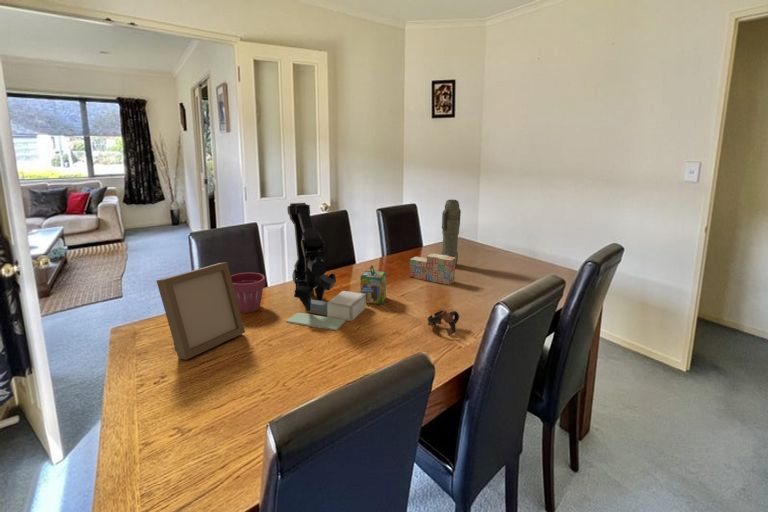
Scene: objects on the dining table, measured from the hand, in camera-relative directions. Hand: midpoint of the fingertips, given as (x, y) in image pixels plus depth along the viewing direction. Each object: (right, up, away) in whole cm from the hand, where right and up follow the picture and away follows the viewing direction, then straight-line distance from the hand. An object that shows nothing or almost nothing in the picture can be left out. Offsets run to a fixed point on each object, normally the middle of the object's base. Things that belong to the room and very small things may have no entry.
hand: (314, 306), depth 163 cm
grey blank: (+5, -2, -1) cm, 5 cm away
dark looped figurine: (+49, -7, -14) cm, 51 cm away
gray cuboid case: (+13, -2, -1) cm, 13 cm away
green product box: (+23, +1, +12) cm, 26 cm away
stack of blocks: (+50, +8, +39) cm, 64 cm away
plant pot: (-26, -1, +2) cm, 27 cm away
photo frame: (-32, -9, -26) cm, 42 cm away
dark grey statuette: (+62, +15, +62) cm, 89 cm away
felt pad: (+2, -4, -10) cm, 11 cm away
